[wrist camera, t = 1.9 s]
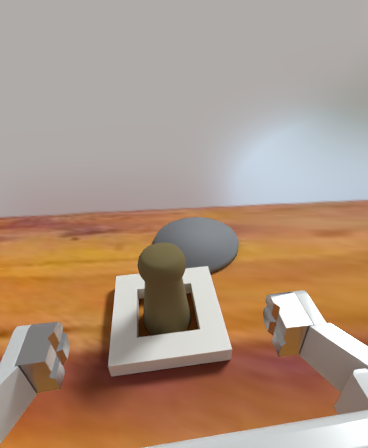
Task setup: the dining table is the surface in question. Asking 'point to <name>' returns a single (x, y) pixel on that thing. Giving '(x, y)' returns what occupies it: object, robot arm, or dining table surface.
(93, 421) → the dining table surface
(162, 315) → the olive pawn
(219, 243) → the charcoal mat
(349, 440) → the robot arm
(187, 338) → the white square frame
